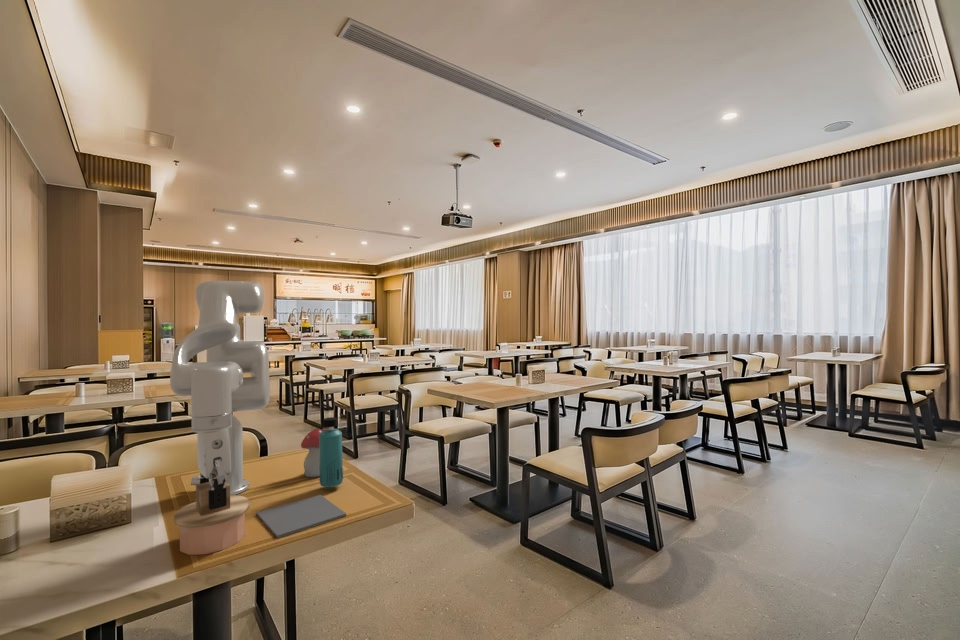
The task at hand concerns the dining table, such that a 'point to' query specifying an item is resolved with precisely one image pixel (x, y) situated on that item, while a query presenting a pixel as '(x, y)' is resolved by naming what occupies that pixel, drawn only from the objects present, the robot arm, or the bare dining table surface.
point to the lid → (202, 515)
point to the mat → (299, 515)
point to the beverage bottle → (330, 454)
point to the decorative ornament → (312, 453)
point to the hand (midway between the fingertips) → (212, 500)
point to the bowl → (212, 536)
